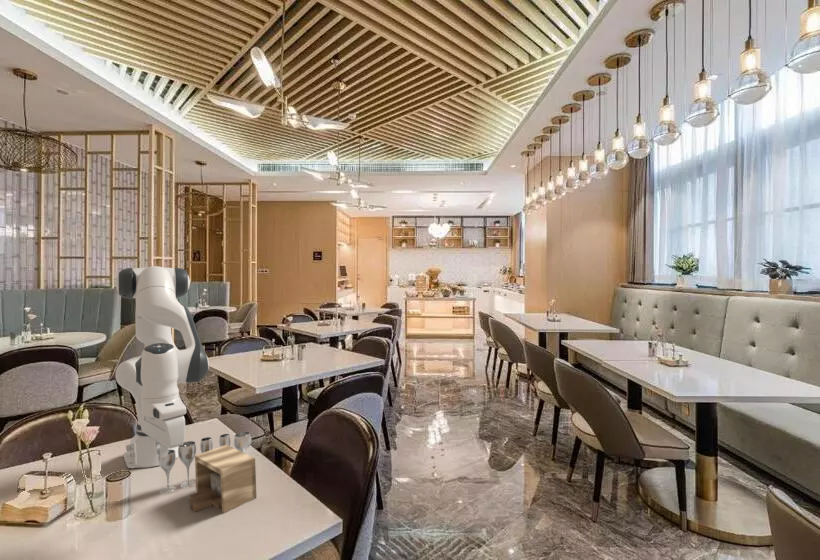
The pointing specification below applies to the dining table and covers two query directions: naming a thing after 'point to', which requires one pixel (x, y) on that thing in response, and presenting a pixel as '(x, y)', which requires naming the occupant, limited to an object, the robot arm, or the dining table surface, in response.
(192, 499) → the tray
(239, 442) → the goblet set
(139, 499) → the dining table surface
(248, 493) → the wooden stand
